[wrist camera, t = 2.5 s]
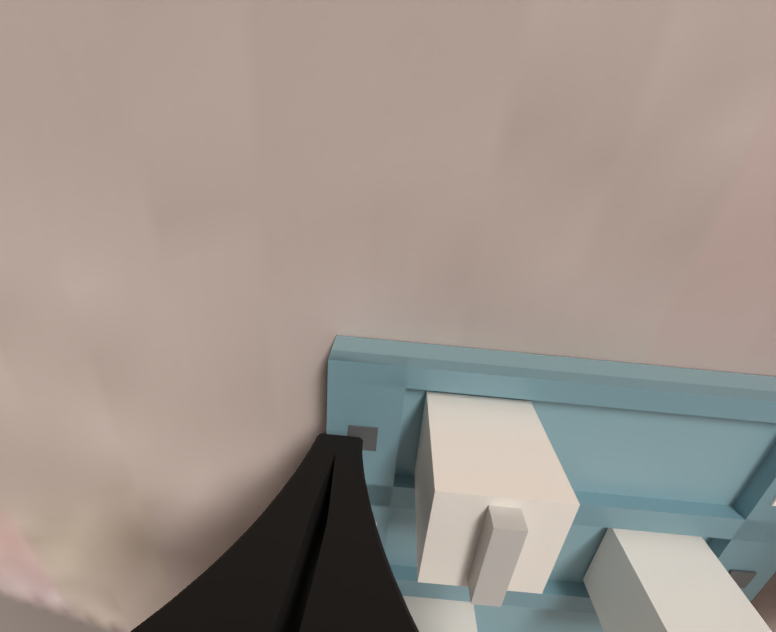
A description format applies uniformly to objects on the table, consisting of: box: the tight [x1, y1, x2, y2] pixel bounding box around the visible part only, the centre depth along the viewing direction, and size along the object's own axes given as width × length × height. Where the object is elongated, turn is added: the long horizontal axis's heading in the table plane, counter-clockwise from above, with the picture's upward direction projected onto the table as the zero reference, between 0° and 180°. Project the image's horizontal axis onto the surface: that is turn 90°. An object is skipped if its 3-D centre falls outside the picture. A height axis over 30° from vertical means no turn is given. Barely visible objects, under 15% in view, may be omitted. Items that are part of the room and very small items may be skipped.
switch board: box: [326, 335, 776, 632], centre depth 16 cm, size 18×17×2 cm
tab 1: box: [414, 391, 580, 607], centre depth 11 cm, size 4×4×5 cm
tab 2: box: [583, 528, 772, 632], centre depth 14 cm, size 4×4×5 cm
